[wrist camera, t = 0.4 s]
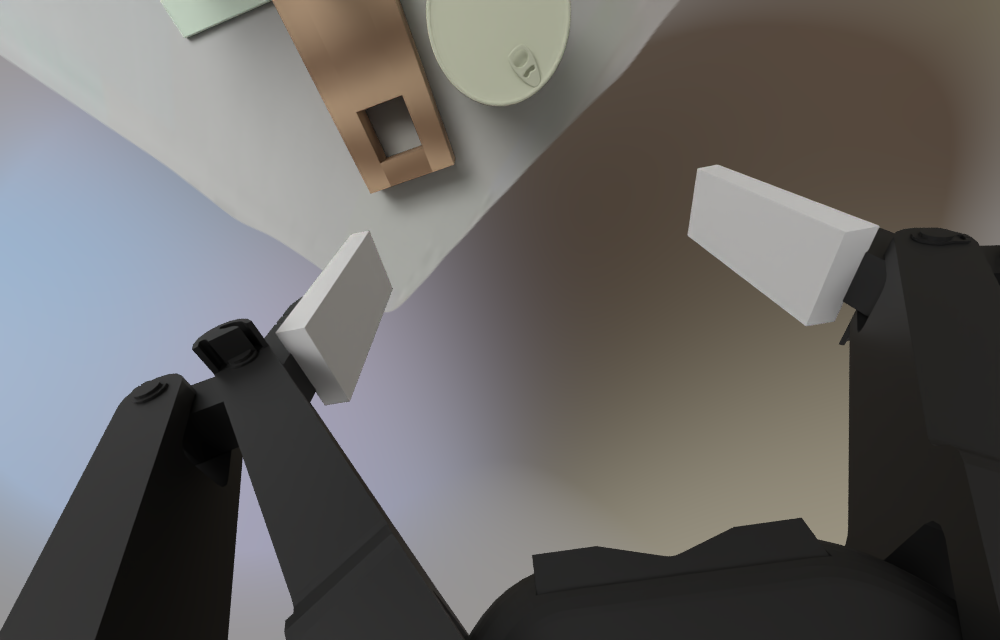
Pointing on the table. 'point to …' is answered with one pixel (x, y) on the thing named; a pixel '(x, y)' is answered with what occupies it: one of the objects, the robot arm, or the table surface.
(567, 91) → the table surface
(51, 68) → the table surface
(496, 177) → the table surface
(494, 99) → the can
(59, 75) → the table surface
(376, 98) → the socket block
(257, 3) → the mat
